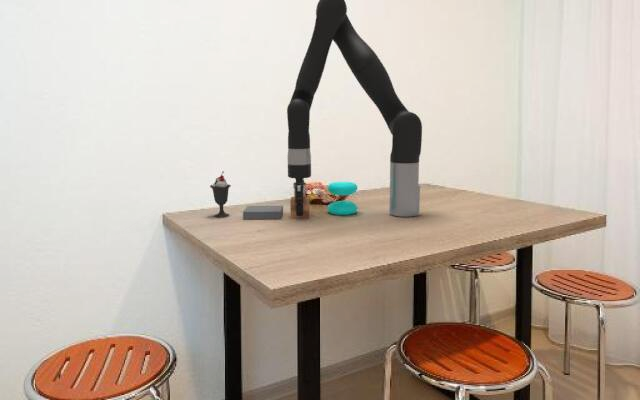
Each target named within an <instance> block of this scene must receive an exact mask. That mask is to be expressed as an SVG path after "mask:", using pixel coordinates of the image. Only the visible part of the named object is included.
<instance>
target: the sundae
mask: <svg viewBox="0 0 640 400" xmlns="http://www.w3.org/2000/svg"><path fill="white" fill-rule="evenodd" d="M224 173H225V172H224V170H223V171H222V172H221V175H220V176H219V177H217V178H215V182H214V183H212V184H211V185H209V187H210V188H211V189H212V194H213V198H214V201H215V203H216V205H218V206H219V211H218V213H215V214H214V217H215V218H226V217H229V216H230V214H229V213H226V212H225V210H224V205H225V204H227V202H228V198H229V190H230V188H231V185H230V184H228V183H227V180H226V178H225V177H224V176H225V175H223V174H224Z"/></svg>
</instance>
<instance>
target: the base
mask: <svg viewBox="0 0 640 400" xmlns="http://www.w3.org/2000/svg"><path fill="white" fill-rule="evenodd" d="M283 216H284V205H247V206H246V207H245V208H244V210H243V212H242V220H244V221H246V220H247V221H250V220H252V221H253V220H257V221H260V220H263V221H264V220H268V221H269V220H282V218H283Z"/></svg>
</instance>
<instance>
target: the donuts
mask: <svg viewBox="0 0 640 400" xmlns="http://www.w3.org/2000/svg"><path fill="white" fill-rule="evenodd" d="M327 191H328V192H329V193H330V194H332V195H335V196H350V195H353V194H355V193H356V192H357V191H358V184H356V183H355V182H351V181H350V182H349V181H335V182H334V181H333V182H329V184H328V185H327ZM327 210H328V212H329V214H332V215H337V216H345V215H346V216H348V215H349V216H350V215H353V214H355V213H357V211H358V206H357V204H356V203H355V202H353V201H347V200H337V201H336V200H335V201H333V202H331V203H329V204H328V206H327Z"/></svg>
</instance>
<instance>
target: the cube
mask: <svg viewBox="0 0 640 400" xmlns="http://www.w3.org/2000/svg"><path fill="white" fill-rule="evenodd" d="M289 200H290V202H289V203H290V206H289V207H290V209H289V210H290V219H310V214H311V213H310V207H311V206H310V196H305V197H304V198H303V201H304V203H303V216H297V215H296V203H295V197H294V196H291V197H290V199H289ZM297 200H302V198H297Z"/></svg>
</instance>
